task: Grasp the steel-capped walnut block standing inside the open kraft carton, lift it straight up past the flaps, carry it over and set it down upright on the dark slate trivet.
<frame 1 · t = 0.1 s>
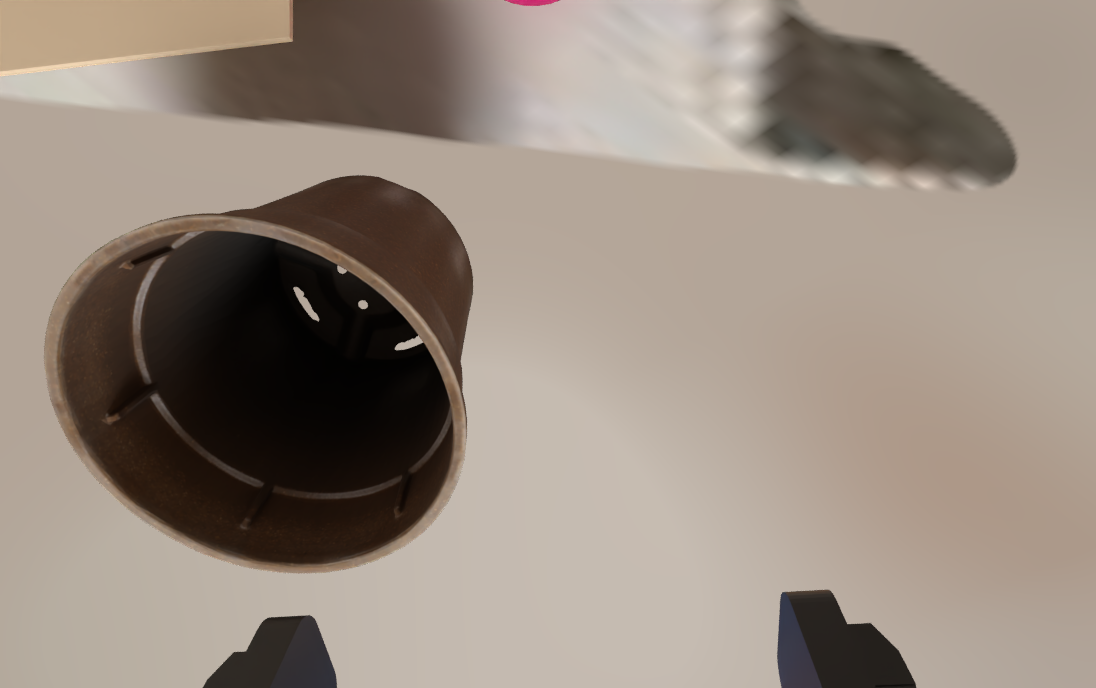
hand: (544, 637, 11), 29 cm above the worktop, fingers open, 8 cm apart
plant pot: (372, 276, 40), on the worktop
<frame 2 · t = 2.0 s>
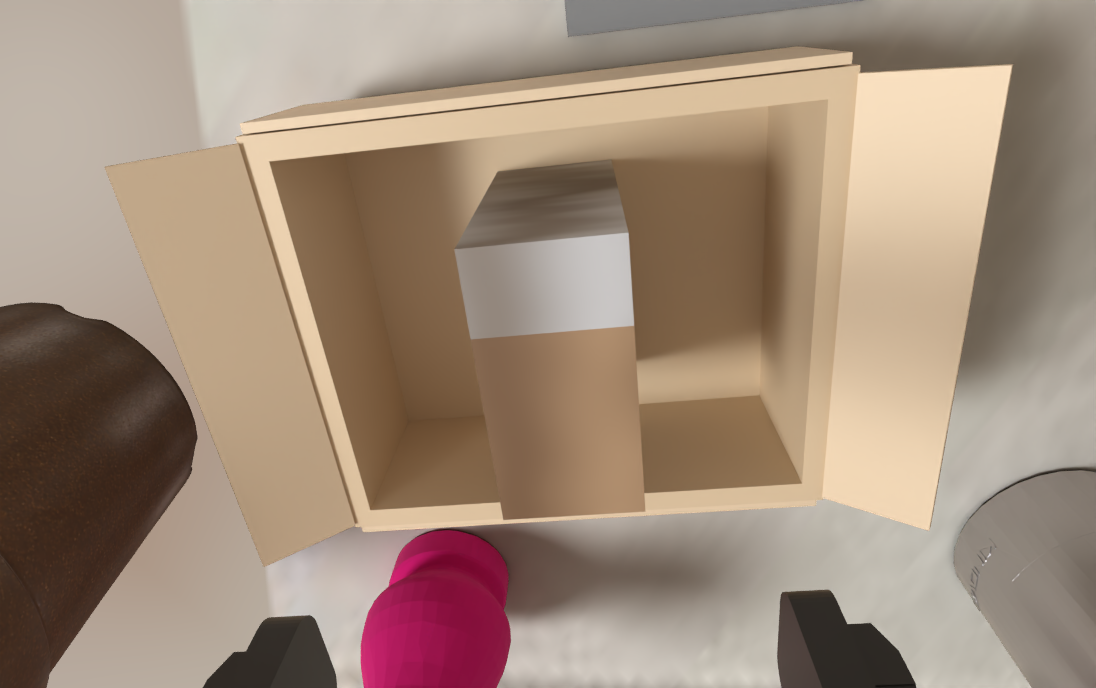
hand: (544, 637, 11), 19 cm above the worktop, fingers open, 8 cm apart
plant pot: (78, 407, 33), on the worktop
pepper mill: (453, 569, 37), on the worktop
block: (565, 273, 28), point 1 cm above the worktop, touching carton
carton: (565, 268, 28), on the worktop
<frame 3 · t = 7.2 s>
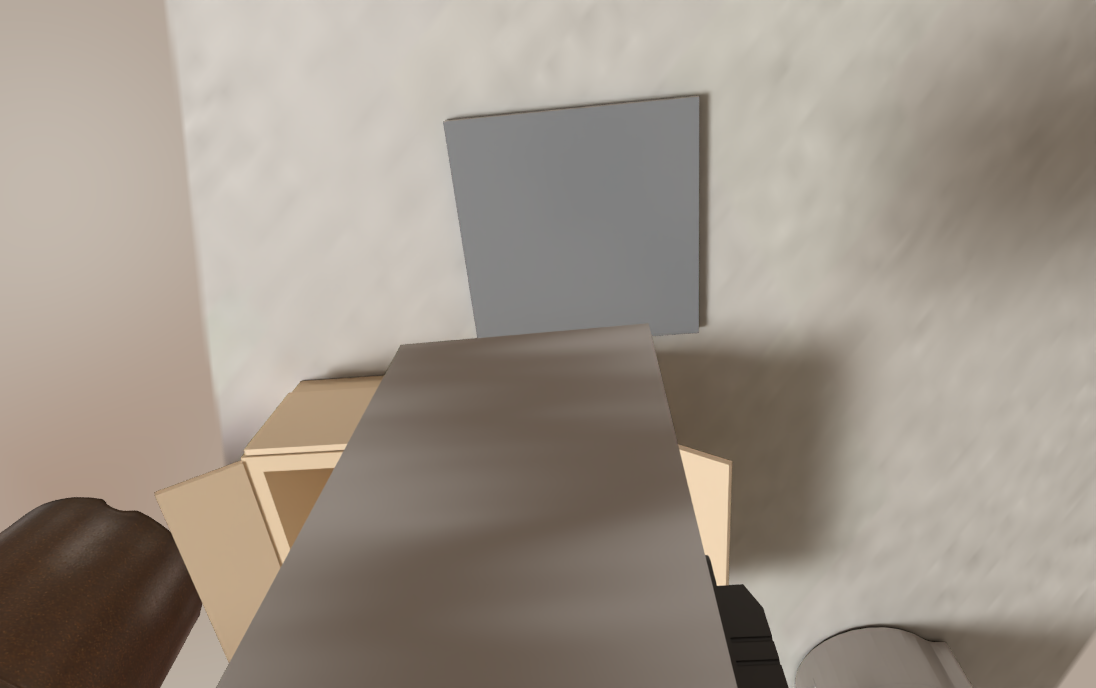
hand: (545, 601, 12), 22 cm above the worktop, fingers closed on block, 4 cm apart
plant pot: (112, 565, 42), on the worktop
block: (550, 527, 14), point 20 cm above the worktop, touching gripper
trivet: (579, 230, 31), on the worktop
carton: (485, 484, 38), on the worktop
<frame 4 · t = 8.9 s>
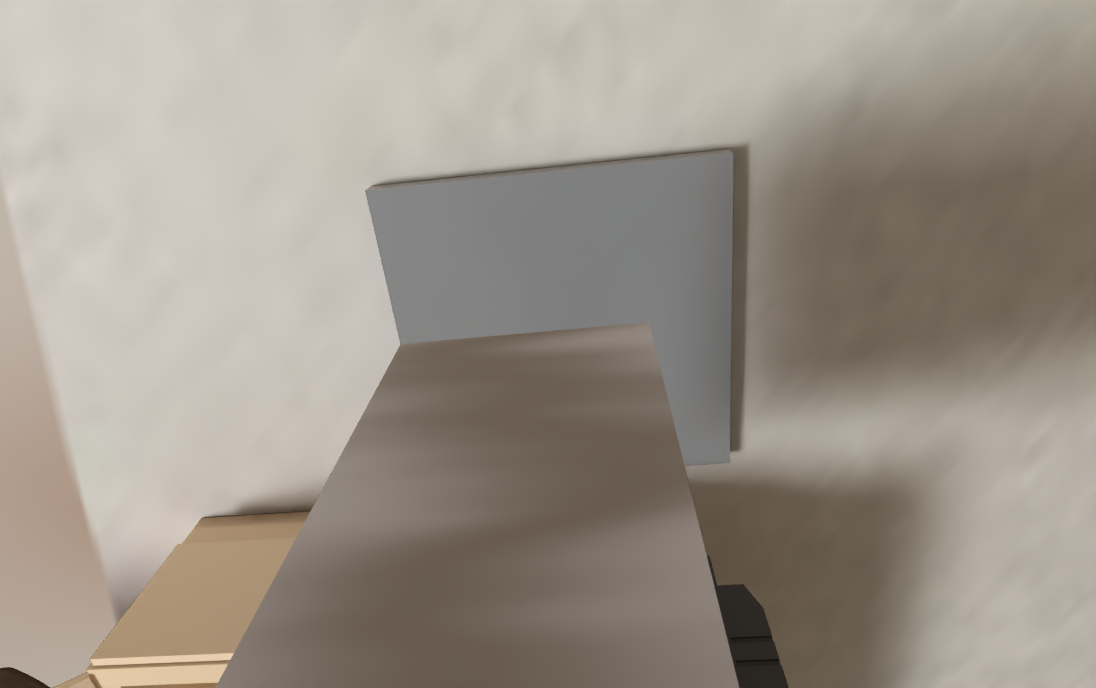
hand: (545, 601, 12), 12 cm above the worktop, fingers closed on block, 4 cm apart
block: (550, 527, 14), point 10 cm above the worktop, touching gripper
trivet: (563, 331, 22), on the worktop
carton: (450, 638, 29), on the worktop
when the fingers open (4 cm above the worktop, at t = 10.5 s): block drops 1 cm, resting on trivet.
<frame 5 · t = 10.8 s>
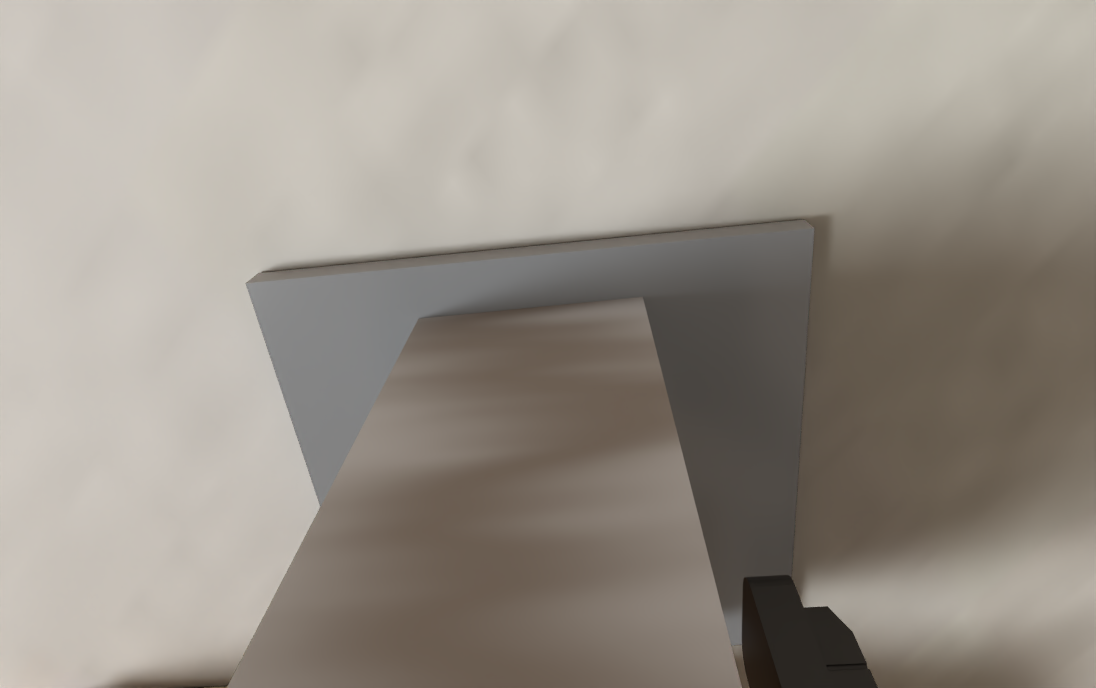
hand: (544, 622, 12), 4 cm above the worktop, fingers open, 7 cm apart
block: (554, 488, 15), point 1 cm above the worktop, touching trivet
trivet: (552, 470, 16), on the worktop
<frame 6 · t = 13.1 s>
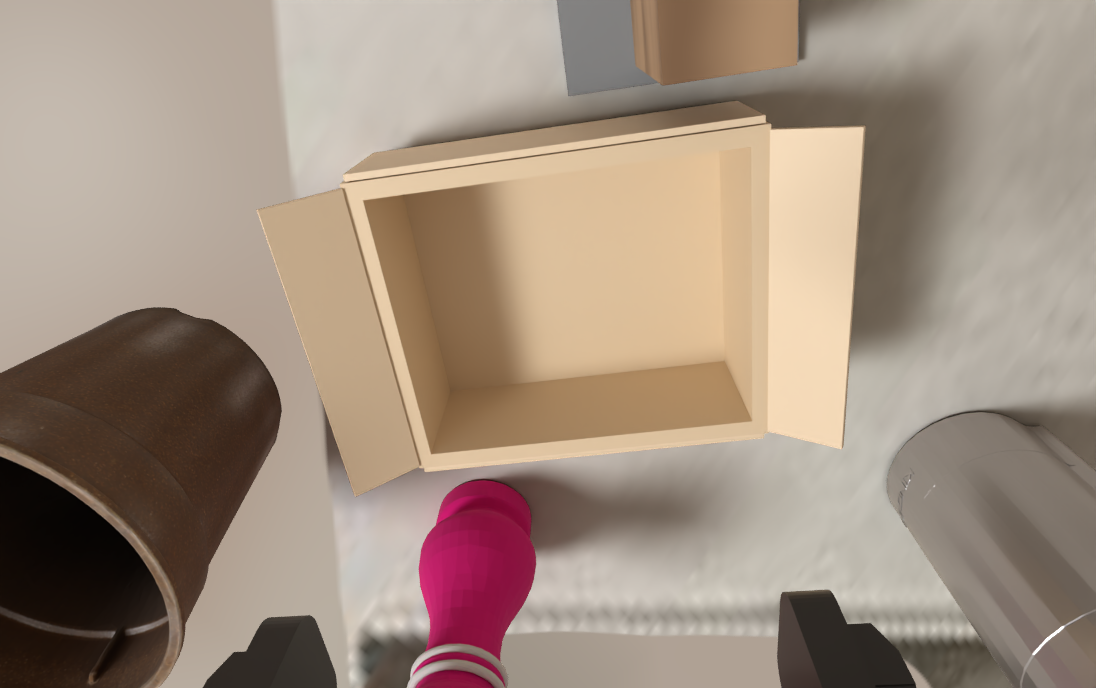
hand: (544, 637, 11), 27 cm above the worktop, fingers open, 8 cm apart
plant pot: (185, 390, 41), on the worktop
pepper mill: (486, 513, 45), on the worktop
carton: (571, 267, 37), on the worktop
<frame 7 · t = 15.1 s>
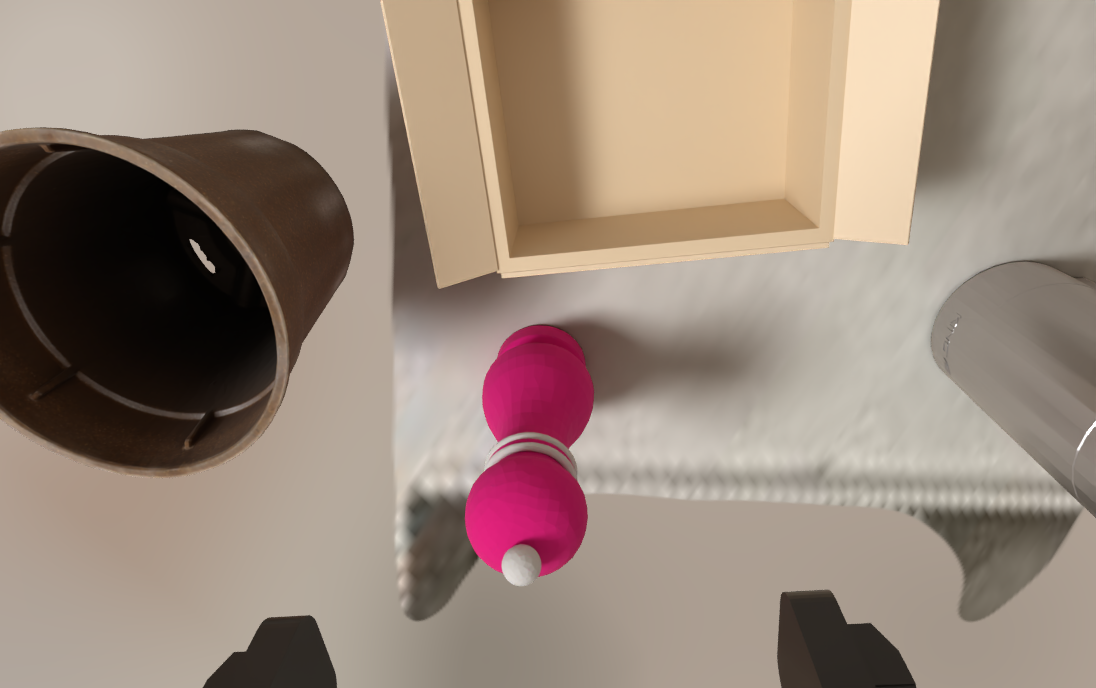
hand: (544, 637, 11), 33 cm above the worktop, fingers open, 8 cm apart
plant pot: (261, 222, 43), on the worktop
pepper mill: (541, 362, 47), on the worktop
carton: (642, 97, 38), on the worktop
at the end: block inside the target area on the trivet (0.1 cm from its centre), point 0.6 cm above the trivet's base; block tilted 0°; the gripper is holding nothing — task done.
